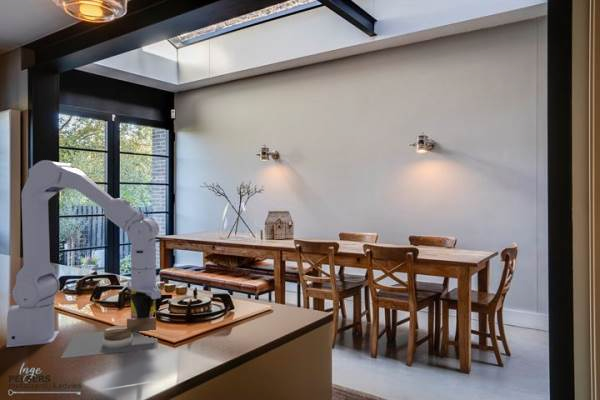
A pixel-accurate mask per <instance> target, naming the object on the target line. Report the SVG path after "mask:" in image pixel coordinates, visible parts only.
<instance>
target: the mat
mask: <svg viewBox="0 0 600 400" xmlns="http://www.w3.org/2000/svg"><path fill="white" fill-rule="evenodd" d="M103 338H104V330H103V331H94V332H93V331H92V332H83V333H81V332H80V333H75V334H73V336H72V337H71V340H70V341H69V343H68V345H67V346H66V348H65V350H64V351H63V353H62V355H61V356H60V359H69V358H70V359H71V358H76V357H77V358H78V357H85V356H87V357H88V356H96V355H106V354H115V353H117V354H118V353H124V352H134V351H145V350H153V349H154V350H155V349H158V347H159V346H158V344H159V338H158V339H157V338H153V337H151V338H149V337H148V336H144V335H142V334H140V333H137V332H132V343H131V344H130V345H127V346H124V347H120V348H106V347H104V346H103Z"/></svg>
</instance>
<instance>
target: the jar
mask: <svg viewBox="0 0 600 400" xmlns="http://www.w3.org/2000/svg"><path fill="white" fill-rule="evenodd" d="M131 343H132V335H131V336H130V337H128V338H126V339H122V340H116V341H110V340H106V339H104V338H103V346H104V347H106V348H120V347H124V346H127V345H130V344H131Z"/></svg>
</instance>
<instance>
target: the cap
mask: <svg viewBox="0 0 600 400" xmlns="http://www.w3.org/2000/svg"><path fill="white" fill-rule="evenodd" d="M156 327H157V316H155V317H145V318H133V319H131V318H127V319H126V324H125V325H124V324H123V325H121V324H120V325H114V326H113V325H112V326H110V327H107V328H105V329H104V330H103V331H104V339H106V340H110V341H116V340H122V339H126V338H128V337H130V336H131V335H132V332H139V331H149V330H156Z"/></svg>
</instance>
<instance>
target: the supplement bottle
mask: <svg viewBox="0 0 600 400" xmlns="http://www.w3.org/2000/svg"><path fill="white" fill-rule="evenodd" d="M131 294H136V291H132V290H130V295H131ZM156 300H157V299H155V300H154V302H153V304H152V307H151V310H150V315H149V317H153V315H154V312H155V313H156V307H157V306H156ZM133 318H137V313H136V309H135V306H134V304H133V301H132V300H131V299H130V319H133Z"/></svg>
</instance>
